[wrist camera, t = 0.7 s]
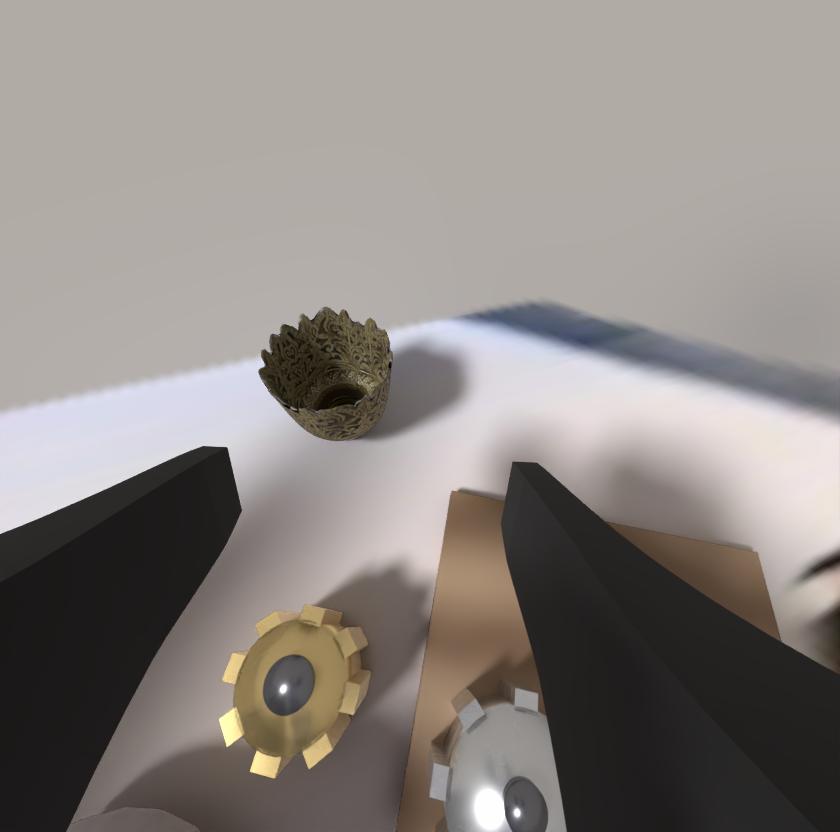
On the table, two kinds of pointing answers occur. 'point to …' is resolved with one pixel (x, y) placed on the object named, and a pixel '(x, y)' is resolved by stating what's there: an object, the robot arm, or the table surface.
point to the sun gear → (497, 766)
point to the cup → (330, 374)
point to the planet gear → (295, 687)
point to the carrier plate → (505, 630)
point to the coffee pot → (133, 822)
